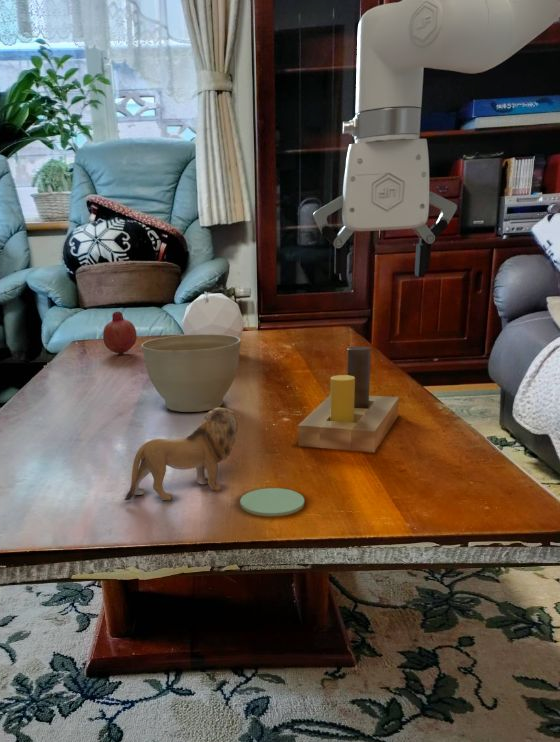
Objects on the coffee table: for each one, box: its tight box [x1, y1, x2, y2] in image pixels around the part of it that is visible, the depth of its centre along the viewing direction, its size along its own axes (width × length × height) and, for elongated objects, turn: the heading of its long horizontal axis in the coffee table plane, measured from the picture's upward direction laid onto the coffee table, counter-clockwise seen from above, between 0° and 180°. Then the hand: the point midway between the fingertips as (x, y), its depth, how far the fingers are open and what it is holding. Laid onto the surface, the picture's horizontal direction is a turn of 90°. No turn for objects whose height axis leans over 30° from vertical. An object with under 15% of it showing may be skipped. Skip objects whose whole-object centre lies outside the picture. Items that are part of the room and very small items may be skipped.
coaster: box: [239, 487, 305, 517], centre depth 74 cm, size 7×7×1 cm
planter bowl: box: [140, 334, 242, 413], centre depth 113 cm, size 16×16×11 cm
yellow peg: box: [329, 374, 355, 423], centre depth 93 cm, size 3×3×8 cm
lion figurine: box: [123, 406, 238, 501], centre depth 78 cm, size 15×5×9 cm, turn 118°
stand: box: [297, 395, 400, 453], centre depth 97 cm, size 10×17×3 cm, turn 155°
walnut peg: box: [346, 345, 372, 409], centre depth 98 cm, size 3×3×11 cm
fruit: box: [102, 310, 137, 355], centre depth 161 cm, size 8×8×10 cm
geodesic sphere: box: [181, 291, 245, 339], centre depth 153 cm, size 15×14×14 cm
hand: (380, 278), depth 87 cm, fingers open, 9 cm apart
